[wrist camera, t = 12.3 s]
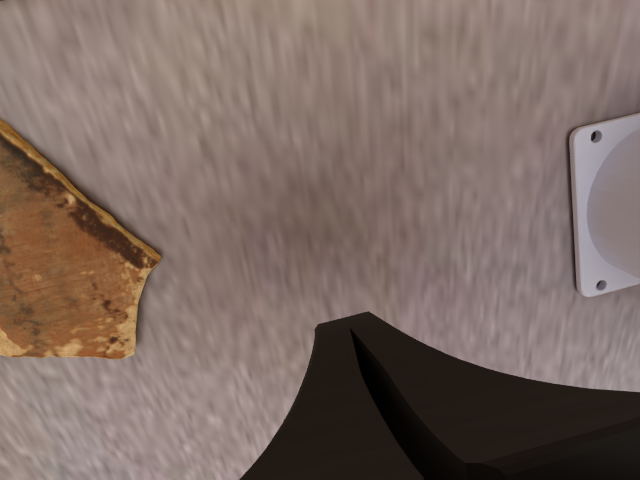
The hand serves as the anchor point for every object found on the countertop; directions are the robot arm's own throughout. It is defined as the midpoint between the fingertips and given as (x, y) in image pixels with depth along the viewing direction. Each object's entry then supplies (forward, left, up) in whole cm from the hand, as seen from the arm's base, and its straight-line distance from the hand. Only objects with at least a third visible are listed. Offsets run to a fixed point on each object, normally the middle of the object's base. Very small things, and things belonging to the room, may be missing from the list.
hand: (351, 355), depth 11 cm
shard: (+11, -2, -11) cm, 16 cm away
